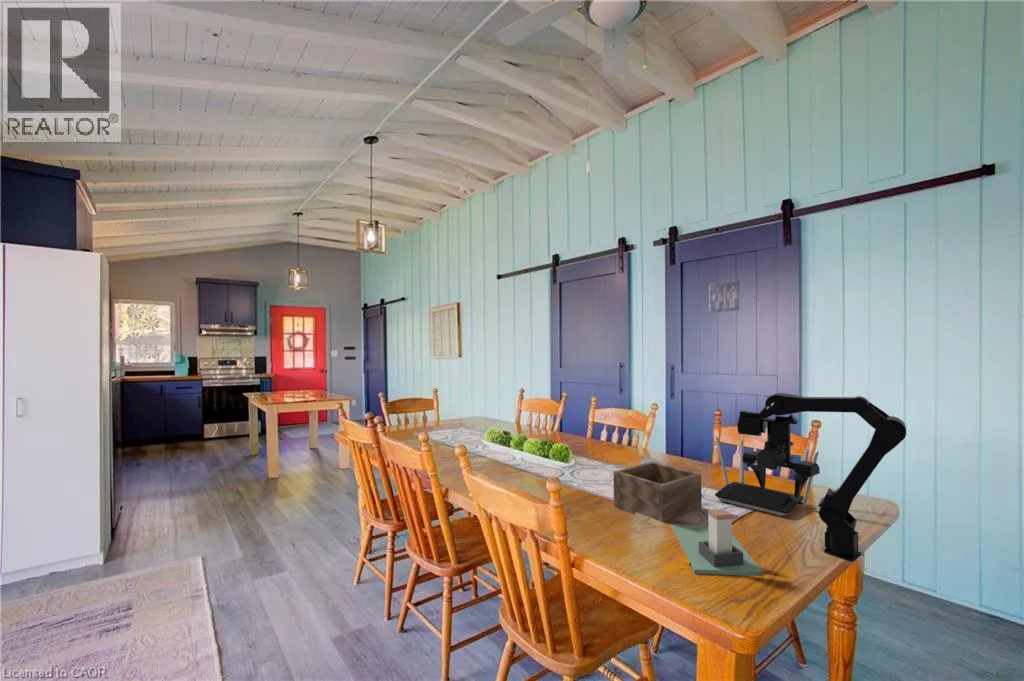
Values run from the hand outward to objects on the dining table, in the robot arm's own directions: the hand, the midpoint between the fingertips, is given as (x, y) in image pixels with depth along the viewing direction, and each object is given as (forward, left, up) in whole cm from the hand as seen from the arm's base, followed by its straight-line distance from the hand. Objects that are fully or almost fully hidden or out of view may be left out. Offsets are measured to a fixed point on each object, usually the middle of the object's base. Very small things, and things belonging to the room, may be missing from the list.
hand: (779, 493), depth 135 cm
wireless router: (+19, -26, -13) cm, 35 cm away
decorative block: (+55, -17, -13) cm, 59 cm away
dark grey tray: (+2, +26, -13) cm, 29 cm away
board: (+8, +21, -13) cm, 26 cm away
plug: (+2, +26, -12) cm, 29 cm away
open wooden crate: (+36, +8, -13) cm, 39 cm away
